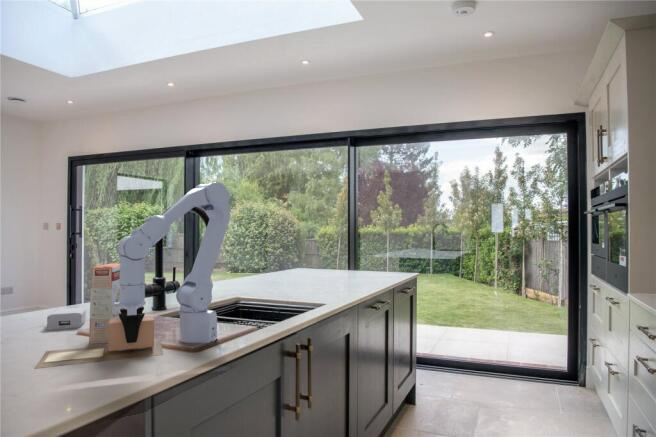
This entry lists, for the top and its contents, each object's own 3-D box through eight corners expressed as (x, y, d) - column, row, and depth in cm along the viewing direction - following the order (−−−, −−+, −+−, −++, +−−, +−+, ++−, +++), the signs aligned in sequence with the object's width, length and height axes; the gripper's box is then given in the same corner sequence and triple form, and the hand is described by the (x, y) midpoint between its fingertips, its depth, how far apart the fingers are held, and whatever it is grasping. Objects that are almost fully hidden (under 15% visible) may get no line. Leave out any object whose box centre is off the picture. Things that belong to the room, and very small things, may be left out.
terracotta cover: (153, 340, 112) (153, 315, 113) (153, 346, 107) (154, 320, 107) (109, 345, 108) (110, 318, 109) (108, 351, 103) (108, 323, 103)
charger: (88, 318, 150) (81, 327, 136) (56, 320, 147) (46, 330, 133) (88, 304, 150) (81, 312, 136) (57, 306, 147) (47, 314, 133)
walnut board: (160, 344, 117) (160, 339, 117) (163, 358, 104) (163, 353, 104) (46, 355, 107) (46, 350, 107) (34, 373, 94) (34, 367, 94)
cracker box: (112, 346, 115) (113, 266, 115) (88, 347, 114) (89, 266, 114) (130, 333, 128) (130, 262, 129) (108, 334, 128) (109, 262, 128)
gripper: (115, 281, 113) (115, 334, 113) (113, 289, 100) (112, 348, 100) (145, 280, 116) (144, 331, 116) (146, 287, 103) (145, 345, 103)
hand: (131, 339), depth 108 cm, fingers closed on terracotta cover, 6 cm apart
